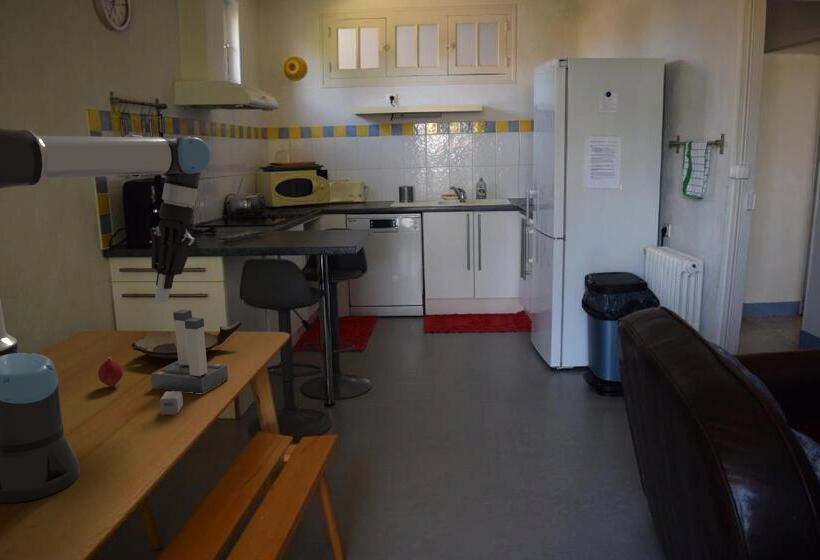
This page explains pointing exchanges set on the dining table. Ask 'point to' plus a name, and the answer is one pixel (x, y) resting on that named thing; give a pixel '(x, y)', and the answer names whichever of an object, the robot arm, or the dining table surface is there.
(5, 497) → the robot arm
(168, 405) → the usb wall charger
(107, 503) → the dining table surface
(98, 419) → the dining table surface
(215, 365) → the console
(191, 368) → the grey square post
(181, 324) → the white capped post
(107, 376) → the onion
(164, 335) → the broken bowl
